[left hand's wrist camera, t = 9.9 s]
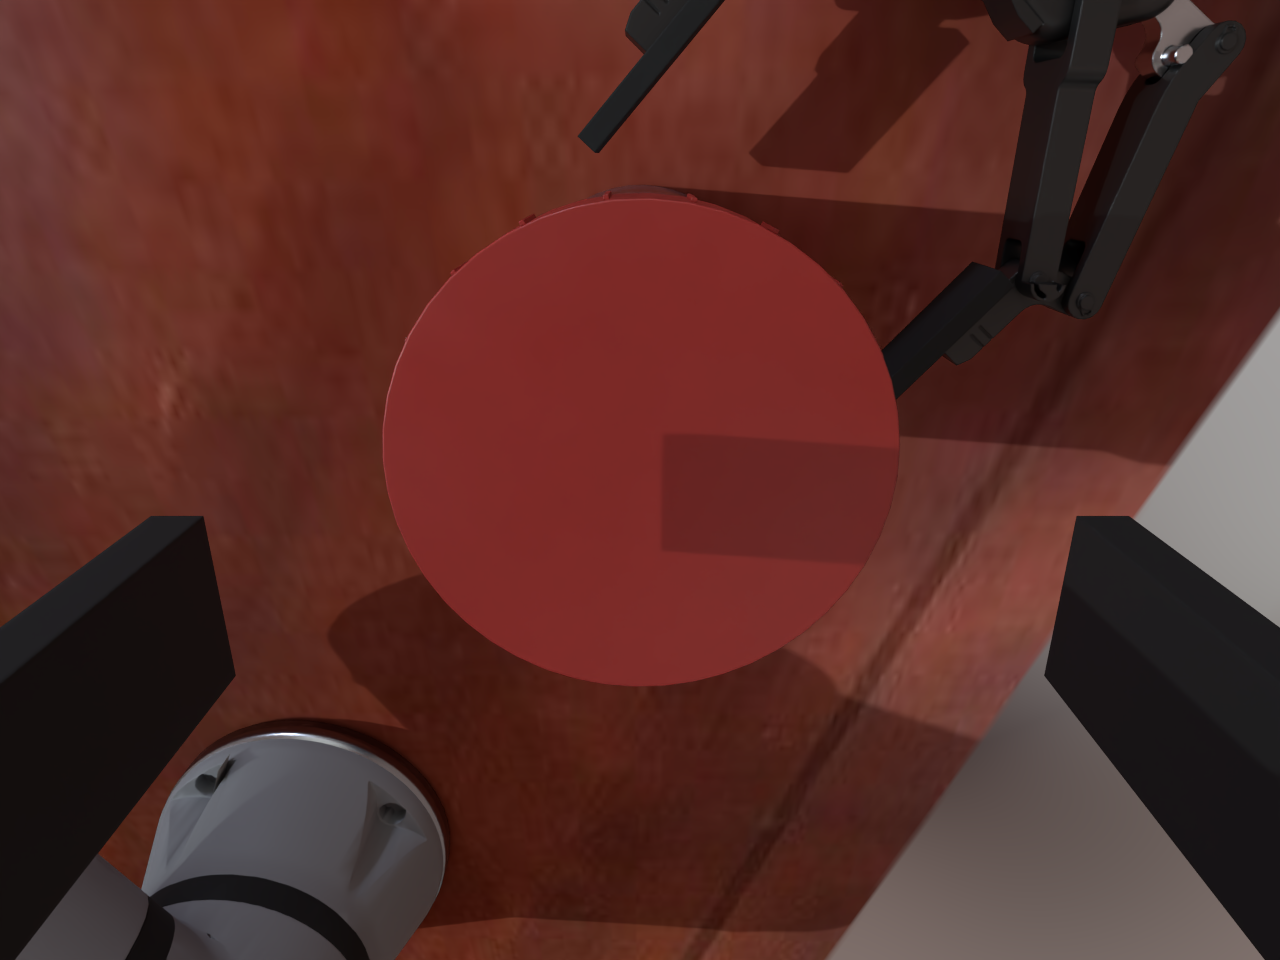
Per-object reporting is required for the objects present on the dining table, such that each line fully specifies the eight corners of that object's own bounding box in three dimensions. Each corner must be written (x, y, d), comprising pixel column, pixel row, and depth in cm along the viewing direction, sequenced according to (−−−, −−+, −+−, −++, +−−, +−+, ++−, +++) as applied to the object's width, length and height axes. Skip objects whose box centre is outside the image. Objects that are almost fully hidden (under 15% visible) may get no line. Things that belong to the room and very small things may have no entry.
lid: (424, 627, 22) (399, 681, 20) (394, 182, 18) (358, 186, 16) (842, 638, 22) (865, 694, 20) (902, 200, 18) (940, 206, 16)
